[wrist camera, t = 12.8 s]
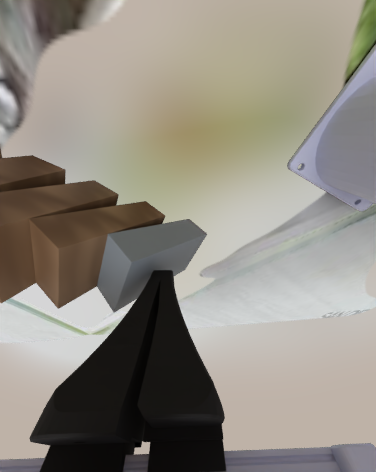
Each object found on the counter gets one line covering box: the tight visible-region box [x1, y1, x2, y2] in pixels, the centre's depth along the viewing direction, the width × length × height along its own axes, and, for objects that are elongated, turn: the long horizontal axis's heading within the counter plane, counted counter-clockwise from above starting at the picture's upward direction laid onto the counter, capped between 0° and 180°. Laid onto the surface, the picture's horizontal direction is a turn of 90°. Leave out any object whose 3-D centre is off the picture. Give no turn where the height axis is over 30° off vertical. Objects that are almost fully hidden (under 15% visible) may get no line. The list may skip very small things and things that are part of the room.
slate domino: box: [97, 219, 207, 312], centre depth 13 cm, size 2×5×8 cm
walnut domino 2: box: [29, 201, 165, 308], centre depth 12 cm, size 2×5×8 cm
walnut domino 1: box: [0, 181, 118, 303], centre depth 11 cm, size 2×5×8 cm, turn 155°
